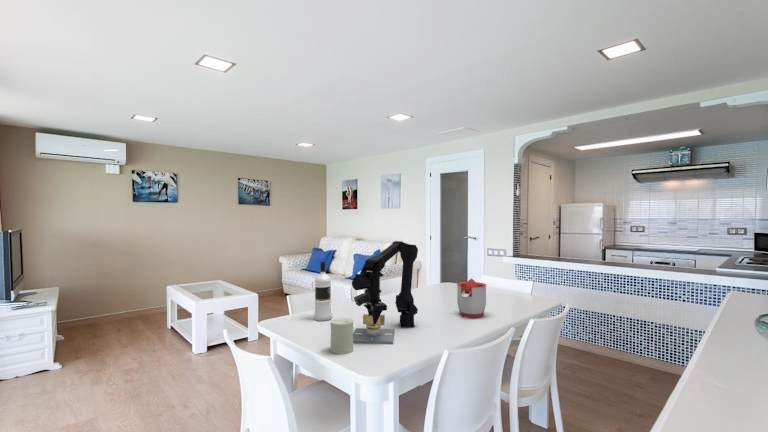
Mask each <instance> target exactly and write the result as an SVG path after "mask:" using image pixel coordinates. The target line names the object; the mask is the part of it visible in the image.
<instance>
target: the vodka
mask: <svg viewBox="0 0 768 432" xmlns="http://www.w3.org/2000/svg"><path fill="white" fill-rule="evenodd" d="M319 269H320V274H319V275H317V276H316V277H315V279H314V287H315V288H314V314H313V319H314V320H315V321H317V322H327V321H331V320H332V317H333V313H332V307H331V306H332V305H331V303H332V299H331V298H332V297H331V296H332V295H331V293H332V292H331V290H332V288H331V281H332V279H331V277H330V276H329V275H327V274H326V261H324V260H321V261H320V267H319Z"/></svg>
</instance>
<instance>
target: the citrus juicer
mask: <svg viewBox="0 0 768 432" xmlns="http://www.w3.org/2000/svg"><path fill="white" fill-rule="evenodd" d="M456 287H457V288H456V291H457V293H456V295H457V296H456V298H457V300H456V302H457V307H458V311H459V314H460V315H461V316H462V317H464V318H473V319H478V318H481V317H483V316H484V314H485V310H486V305H487V284H486V283H483V282H478V281H475V280H474V279H473V278H472V277H471V278H470V279H468V281H461V282H457V283H456Z"/></svg>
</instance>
